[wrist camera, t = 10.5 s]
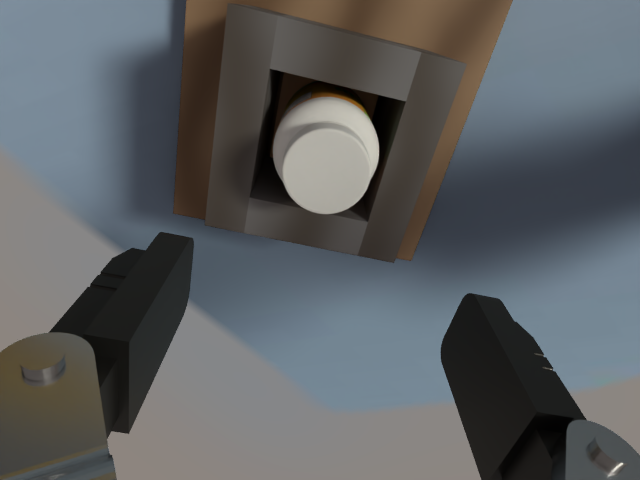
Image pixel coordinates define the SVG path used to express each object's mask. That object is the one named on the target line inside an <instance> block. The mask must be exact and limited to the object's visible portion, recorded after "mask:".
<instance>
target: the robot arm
mask: <svg viewBox="0 0 640 480" xmlns="http://www.w3.org/2000/svg"><path fill="white" fill-rule="evenodd" d="M193 248H194V241H193V238H189V237H184V236H179V235H174V234H169V233H164V232H160V233H159V234H158V235H157V236H156V238H155V239H154V240H153V242H152V243H151V244H150V246H149V247H148V248H147V250H146V251H145V250H140V249H135V248H131V249H129V250H127V251H125V252H124V253H122V254H120V255H118V256H116V257H114V258H112V260H111V261H110V262H109V263H108V264H107V265H106V267H105V268H104V269H103V270H102V271H101V274H100V275H98V276H97V277H96V278H95V279H94V281H93V282H92V283H91V285H90V287H87V289H86V290H85V291H84V292H83V293H82V294H81V296H80V297H79V298H78V299H77V300H76V302H75V303H74V304H73V305H72V306H71V307H70V308H69V310H68V311H67V312H66V313H65V314H64V315H63V317H62V318H61V319H60V320H59V322H57V324H56V325H55V326H54V327H53V328H52V329H51V331H50V332H49V333H43V334H38V335H33V336H30V337H27V338H24V339H22V340H19V341H17V342H15V343H13V344H12V345H10V346H8V347H7V348H5V349H4V350H2V351H1V352H0V480H117V479H116V473H115V467H114V462H113V458H112V455H110V454H109V449H108V443H107V438H108V436H109V435H110V432H111V431H115V432H121V433H128V434H129V432H130V430H131V428H132V425H133V423H134V421H135V419H136V417H137V415H138V413H139V410H140V408H141V406H142V404H143V402H144V400H145V398H146V395H147V393H148V391H149V389H150V387H151V385H152V382H153V380H154V378H155V376H156V374H157V372H158V369H159V367H160V365H161V363H162V361H163V358H164V356H165V354H166V352H167V350H168V348H169V346H170V343H171V341H172V339H173V337H174V335H175V333H176V330H177V328H178V326H179V324H180V322H181V320H182V317H183V315H184V312H185V309H186V306H187V302H188V298H189V291H190V281H191V270H192V259H193ZM441 362H442V365H443V368H444V371H445V374H446V377H447V380H448V383H449V386H450V388H451V391H452V394H453V397H454V400H455V403H456V406H457V409H458V412H459V415H460V418H461V421H462V424H463V427H464V430H465V432H466V435H467V438H468V441H469V444H470V447H471V450H472V453H473V456H474V459H475V462H476V465H477V468H478V471H479V474H480V477H481V480H640V455H639V454H638V453H637V452H636V451H635V450H634V449H633V448H632V447H631V446H630V445H629V444H628V443H627V442H626V441H625V440H623V439H622V438H621V437H620V436H618V435H617V434H615V433H614V432H613V431H611V430H609V429H607V428H606V427H604V426H602V425H600V424H597V423H594V422H591V421H587V420H586V418H585V417H584V416H583V414H582V412H581V411H580V409H579V407H578V406H577V404H576V403H575V401H574V400H573V398H572V397H571V395H570V393H569V392H568V390H567V389H566V387H565V386H564V384H563V383H562V381H561V380H560V378H559V377H558V375H557V373H556V372H554V371H553V367H552V366H551V364H550V363H549V361H548V360H547V358H546V357H544V353H543V352H542V350H541V349H540V347H539V346H538V344H537V343H536V341H535V340H534V338H533V337H532V336H531V335H530V334H529V333H528V332H527V331H526V330H525V329H523V328H522V327H521V326H520V325H519V324H518V323H517V322H514V320H513V319H512V317H511V315H510V314H509V312H508V311H507V309H506V307H505V306H504V304H503V303H502V301H501V300H500V299H498V298H493V297H487V296H482V295H477V294H472V293H469V294H467V295H465V296H464V298H463V299H462V301H461V303H460V305H459V307H458V309H457V311H456V313H455V315H454V317H453V319H452V322H451V324H450V326H449V328H448V330H447V332H446V334H445V336H444V338H443V341H442V345H441Z"/></svg>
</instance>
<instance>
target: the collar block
mask: <svg viewBox="0 0 640 480" xmlns="http://www.w3.org/2000/svg"><path fill="white" fill-rule="evenodd" d="M512 1H513V0H186V16H185V32H184V48H183V64H182V80H181V96H180V113H179V129H178V145H177V161H176V177H175V193H174V209H173V213H174V214H179V215H184V216H189V217H194V218H199V219H204V220H205V225H206V226H211V227H216V228H221V229H226V230H231V231H236V232H241V233H246V234H251V235H256V236H261V237H266V238H271V239H276V240H282V241H287V242H292V243H297V244H302V245H307V246H312V247H317V248H322V249H327V250H332V251H337V252H342V253H347V254H352V255H357V256H362V257H367V258H372V259H377V260H382V261H387V262H392V263H394V261H395V259H396V258H399V259H404V260H409V261H411V260H412V258H413V255H414V252H415V250H416V247H417V245H418V242H419V240H420V237H421V235H422V232H423V229H424V227H425V224H426V222H427V219H428V217H429V214H430V211H431V209H432V206H433V204H434V201H435V199H436V196H437V193H438V191H439V188H440V186H441V183H442V181H443V178H444V176H445V173H446V170H447V168H448V165H449V163H450V160H451V158H452V155H453V152H454V150H455V147H456V145H457V142H458V140H459V137H460V134H461V132H462V129H463V127H464V124H465V122H466V119H467V116H468V114H469V111H470V109H471V106H472V104H473V101H474V99H475V96H476V93H477V91H478V88H479V86H480V83H481V81H482V78H483V75H484V73H485V70H486V68H487V65H488V63H489V60H490V57H491V55H492V52H493V50H494V47H495V45H496V42H497V40H498V37H499V34H500V32H501V29H502V27H503V24H504V22H505V19H506V16H507V14H508V11H509V9H510V6H511V4H512ZM284 72H286V73H290V74H294V75H298V76H302V77H307V78H311V79H315V80H319V81H323V82H327V83H331V84H336V85H340V86H344V87H348V88H352V89H356V90H360V91H365V92H369V93H373V94H377V95H378V99H377V102H376V106H375V109H374V113H373V116H372V120H371V122H372V124H373V126H374V129H375V131H376V134H377V138H378V143H379V159H378V164H377V167H376V170H375V172H374V174H373V176H372V178H371V180H370V182H369V185H368V188H367V190H366V192H365V193H364V195H363V196H362V197H361V199H360V200H359V201H358V202H357V203H355V204H354V205H353V206H351V207H350V208H348V209H346V210H344V211H341V212H338V213H333V214H319V213H314V212H311V211H308V210H306V209H304V208H302V207H301V206H300V205H298V204H297V203H296V202H295V201H294V200H293V199H292V198H291V197H290V195H289V194H288V192H287V190H286V189H285V186H284V183H283V182H282V180H281V178H280V177H279V175H278V173H277V171H276V168H275V164H274V160H273V157H269V156H270V151H271V145H272V139H273V133H274V127H275V122H276V116H277V110H278V104H279V98H280V93H281V87H282V81H283V75H284Z"/></svg>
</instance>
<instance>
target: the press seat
mask: <svg viewBox="0 0 640 480" xmlns="http://www.w3.org/2000/svg"><path fill="white" fill-rule="evenodd" d="M314 81H318V80H315V79H311V78H307V77H302V76H298V75H294V74H290V73H286V72H284V75H283V81H282V87H281V93H280V98H279V104H278V110H277V116H276V122H275V127H274V133H273V139H272V145H271V151H270V156H269V157H273V143H274V138H275V134H276V131H277V129H278V126H279V124H280V121H281V118H282V116H283V113H284V111H285V108H286V106H287V104H288V102H289V100H290V99H291V98H292V96H293V95H294V94H295V93H296V92H297V91H298V90H299V89H300V88H302V87H303V86H305V85H307V84H309V83H311V82H314ZM351 89H352V88H351ZM352 90H353V91H354V92H355V93H356V94H357V95H358V96H359V98H360V99H361V100H362V102H363V104H364V106H365V108H366V111H367V113H368V115H369V118H370V120H372V116H373V113H374V109H375V106H376V102H377V99H378V95H377V94H373V93H369V92H365V91H360V90H356V89H352Z"/></svg>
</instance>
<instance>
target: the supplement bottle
mask: <svg viewBox="0 0 640 480" xmlns="http://www.w3.org/2000/svg"><path fill="white" fill-rule="evenodd" d="M378 159H379V143H378V138H377V134H376V131H375V129H374V126H373V124H372V122H371V120H370V118H369V115H368V113H367V111H366V108H365V106H364V104H363V102H362V100H361V99H360V98H359V96H358V95H357V94H356V93H355V92H354V91H353V90H352V89H351V88H348V87H344V86H340V85H336V84H331V83H327V82H323V81H319V80H318V81H314V82H311V83H309V84H307V85H305V86H303V87H302V88H300V89H299V90H298V91H297V92H296V93H295V94H294V95H293V96H292V98H291V99H290V100H289V102H288V104H287V106H286V108H285V111H284V113H283V116H282V118H281V121H280V124H279V126H278V129H277V131H276V134H275V138H274V143H273V160H274V164H275V168H276V171H277V173H278V175H279V177H280V178H281V180H282V182H283V183H284V186H285V189H286V190H287V192H288V194H289V195H290V197H291V198H292V199H293V200H294V201H295V202H296V203H297V204H298V205H300V206H301V207H302V208H304V209H306V210H308V211H311V212H314V213H319V214H333V213H338V212H341V211H344V210H346V209H348V208H350V207H351V206H353V205H354V204H355V203H357V202H358V201H359V200H360V199H361V197H362V196H363V195H364V193H365V192H366V190H367V188H368V185H369V182H370V180H371V178H372V176H373V174H374V172H375V170H376V167H377V164H378Z"/></svg>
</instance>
